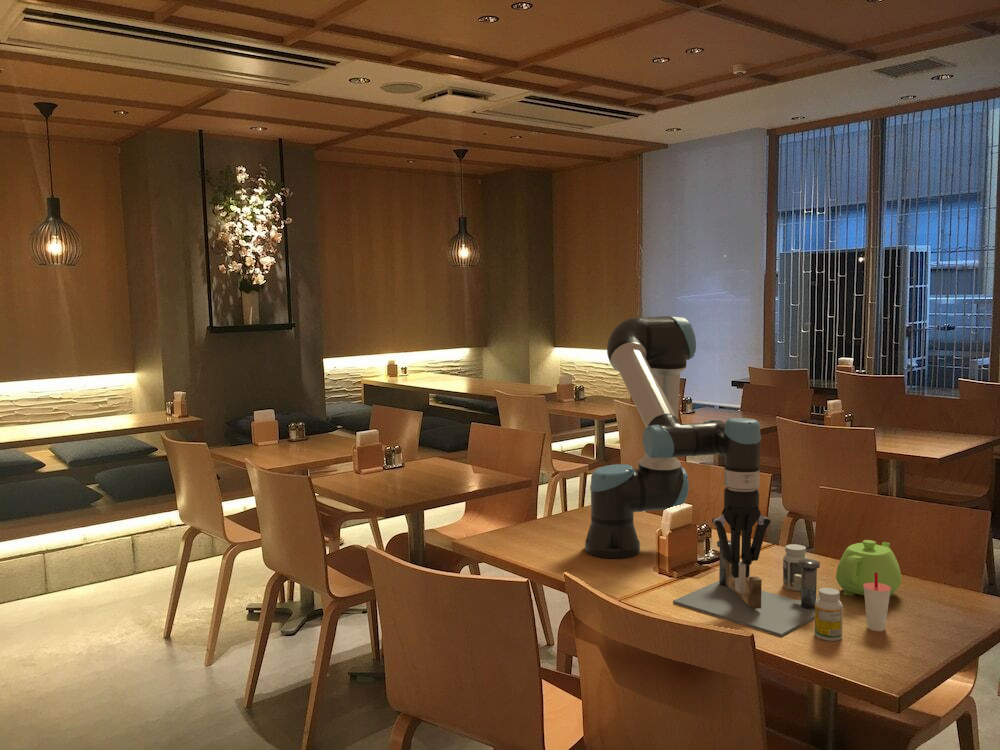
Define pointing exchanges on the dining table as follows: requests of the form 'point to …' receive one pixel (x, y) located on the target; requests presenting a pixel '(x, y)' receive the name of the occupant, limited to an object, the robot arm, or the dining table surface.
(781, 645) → the dining table surface
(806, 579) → the post
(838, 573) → the teapot
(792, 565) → the pill bottle
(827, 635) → the supplement bottle
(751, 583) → the wooden block
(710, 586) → the base board
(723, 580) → the hinge post
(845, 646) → the dining table surface
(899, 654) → the dining table surface
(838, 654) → the dining table surface
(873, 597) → the cup
